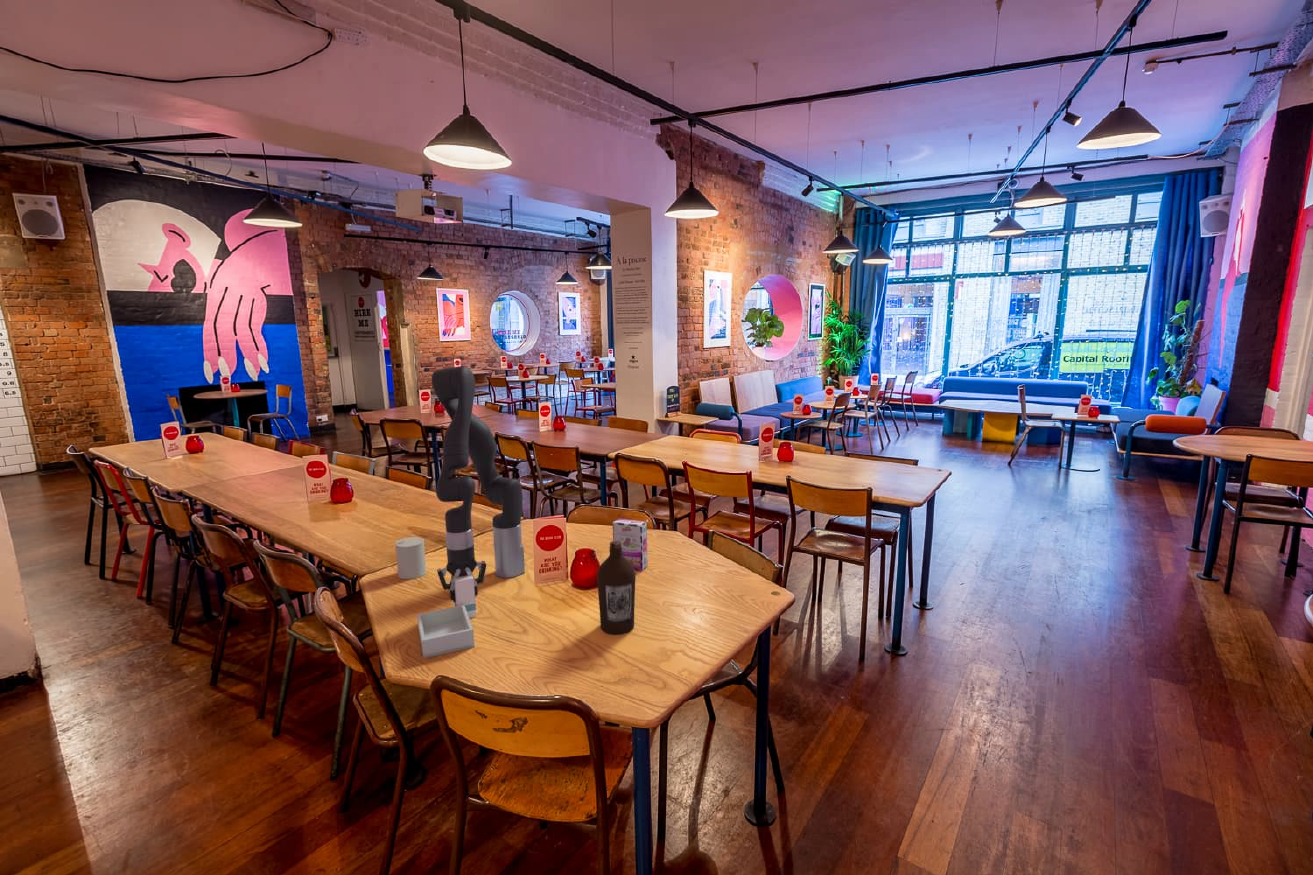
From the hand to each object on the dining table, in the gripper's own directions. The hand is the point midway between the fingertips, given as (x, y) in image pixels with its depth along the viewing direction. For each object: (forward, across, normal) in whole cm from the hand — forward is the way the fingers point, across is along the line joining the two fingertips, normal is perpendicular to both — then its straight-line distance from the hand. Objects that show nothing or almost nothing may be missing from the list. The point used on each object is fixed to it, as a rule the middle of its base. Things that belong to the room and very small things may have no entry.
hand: (464, 598), depth 176 cm
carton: (+4, 0, 0) cm, 4 cm away
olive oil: (+5, -37, +28) cm, 47 cm away
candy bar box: (+5, -57, -9) cm, 58 cm away
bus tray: (+4, +7, +13) cm, 15 cm away
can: (+5, +12, -37) cm, 39 cm away
